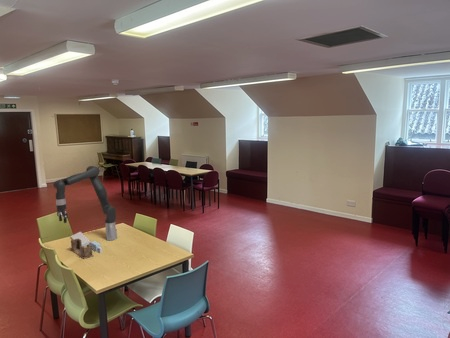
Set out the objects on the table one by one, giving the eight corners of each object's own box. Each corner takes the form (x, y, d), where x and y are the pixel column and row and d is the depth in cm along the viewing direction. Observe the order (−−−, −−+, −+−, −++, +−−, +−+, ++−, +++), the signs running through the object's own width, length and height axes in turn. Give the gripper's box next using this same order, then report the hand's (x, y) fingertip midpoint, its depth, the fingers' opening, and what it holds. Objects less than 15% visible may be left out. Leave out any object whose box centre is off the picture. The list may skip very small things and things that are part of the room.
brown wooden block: (79, 247, 294) (78, 238, 292) (93, 256, 274) (92, 246, 272) (70, 250, 288) (69, 240, 287) (84, 259, 268) (83, 248, 267)
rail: (92, 245, 298) (92, 239, 297) (103, 252, 282) (103, 245, 282) (88, 246, 295) (87, 240, 294) (99, 253, 280) (98, 246, 279)
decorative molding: (80, 250, 294) (91, 245, 299) (79, 246, 292) (89, 240, 298) (72, 240, 321) (82, 235, 326) (70, 236, 319) (80, 231, 325)
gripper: (69, 204, 274) (71, 222, 277) (61, 201, 283) (63, 219, 286) (60, 206, 269) (62, 224, 271) (52, 203, 277) (54, 221, 280)
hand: (63, 221), depth 278 cm, fingers open, 8 cm apart
